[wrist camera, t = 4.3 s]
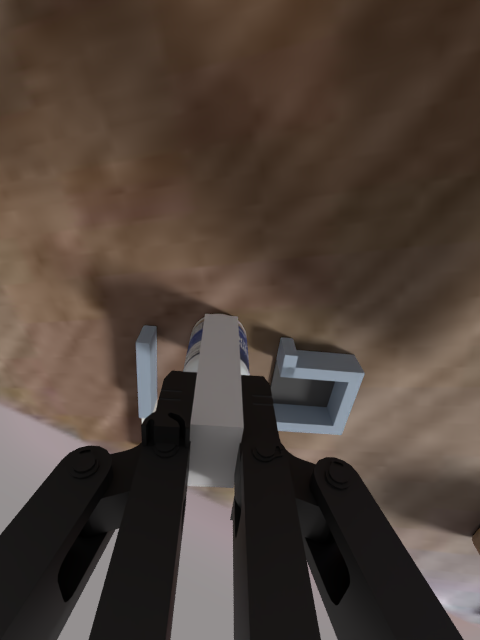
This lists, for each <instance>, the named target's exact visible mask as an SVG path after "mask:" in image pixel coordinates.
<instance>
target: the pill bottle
mask: <svg viewBox="0 0 480 640" xmlns="http://www.w3.org/2000/svg"><path fill="white" fill-rule="evenodd" d="M215 315H226V314H215ZM226 316H229V315H226ZM204 318H205V317H204ZM204 318H202V319H201V320H199V321H198V322H197V323H196V325H195V326H194V328H193V330H192V333H191V337H190V342H189V346H188V351H187V355H186V360H185V365H184V370H183V372H197V370H198V363H199V355H200V348H201V340H202V333H203V325H204ZM238 328H239V347H240V367H241V375H250V373H249V361H248V347H247V338H246V332H245V329H244V328H243V326H242V324H241V323H240V322H239V321H238Z"/></svg>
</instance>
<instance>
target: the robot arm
mask: <svg viewBox="0 0 480 640" xmlns="http://www.w3.org/2000/svg"><path fill="white" fill-rule="evenodd" d="M141 430H142V443H141V444H140V445H138V446H136V447H134V448H133V449H130V450H126V451H123V452H118V453H114V454H109V453H108V451H107V450H106V449H104V448H102V447H100V446H85V447H81V448H78V449H76V450H75V451H72V452H70V453H69V454H68V455H67V456H66V457H65V458H63V460H61V462H60V463H59V464H58V465H57V466H56V468H55V469H54V470H53V471H52V473H51V474H50V475H49V476H48V477H47V479H46V480H45V481H44V482H43V484H42V485H41V486H40V487H39V488H38V490H37V491H36V492H35V493H34V495H33V496H32V497H31V498H30V499H29V501H28V502H27V503H26V504H25V505H24V507H23V508H22V509H21V510H20V512H19V513H18V514H17V515H16V516H15V518H14V519H13V520H12V521H11V523H10V524H9V525H8V526H7V527H6V529H5V530H4V531H3V532H2V534H1V535H0V640H57V639H58V637H59V635H60V633H61V631H62V629H63V627H64V625H65V624H66V622H67V620H68V618H69V616H70V614H71V612H72V610H73V608H74V607H75V605H76V603H77V601H78V599H79V597H80V595H81V593H82V592H83V590H84V588H85V586H86V584H87V582H88V580H89V578H90V576H91V575H92V573H93V571H94V569H95V567H96V565H97V563H98V561H99V559H100V558H101V556H102V554H103V552H104V550H105V548H106V546H107V544H108V542H109V540H110V538H111V537H112V535H113V533H114V531H115V529H118V528H119V532H118V535H117V539H116V543H115V547H114V550H113V553H112V557H111V561H110V565H109V568H108V572H107V575H106V579H105V582H104V587H103V590H102V593H101V597H100V601H99V604H98V608H97V611H96V615H95V619H94V622H93V626H92V630H91V633H90V637H89V640H170V638H171V629H172V620H173V611H174V602H175V594H176V585H177V576H178V567H179V558H180V550H181V541H182V532H183V523H184V515H185V506H186V492H187V486H204V487H226V488H233V487H234V485H235V496H234V502H233V507H232V513H231V519H230V520H233V581H234V582H233V584H234V585H233V586H234V640H321V638H320V632H319V627H318V621H317V616H316V610H315V605H314V599H313V594H312V588H311V583H310V577H309V572H308V567H307V562H308V565H309V567H310V570H311V573H312V575H313V577H314V580H315V583H316V585H317V588H318V590H319V593H320V595H321V598H322V601H323V603H324V606H325V608H326V611H327V613H328V616H329V618H330V621H331V623H332V626H333V628H334V631H335V634H336V636H337V639H338V640H463V638H462V636H461V635H460V633H459V632H458V630H457V629H456V627H455V626H454V624H453V623H452V621H451V619H450V618H449V616H448V614H447V613H446V611H445V610H444V608H443V606H442V605H441V603H440V602H439V600H438V599H437V597H436V595H435V594H434V592H433V591H432V589H431V588H430V586H429V584H428V583H427V581H426V580H425V578H424V577H423V575H422V573H421V572H420V570H419V569H418V567H417V566H416V564H415V562H414V561H413V559H412V558H411V556H410V555H409V553H408V551H407V550H406V548H405V547H404V545H403V544H402V542H401V540H400V539H399V537H398V536H397V534H396V533H395V531H394V529H393V528H392V526H391V525H390V523H389V522H388V520H387V518H386V517H385V515H384V514H383V512H382V511H381V509H380V507H379V506H378V504H377V503H376V501H375V500H374V498H373V496H372V495H371V493H370V492H369V490H368V489H367V487H366V485H365V484H364V482H363V481H362V479H361V478H360V476H359V474H358V473H357V472H356V471H355V470H354V468H353V467H352V466H351V465H349V464H348V463H346V462H345V461H343V460H340V459H337V458H332V457H326V458H323V459H321V460H319V461H318V462H317V464H313V463H310V462H307V461H304V460H302V459H299V458H297V457H295V456H293V455H292V454H290V453H289V452H288V451H287V450H286V449H285V447H284V446H283V445H282V444H281V442H280V439H279V434H278V428H277V422H276V416H275V410H274V406H273V398H272V392H271V386H270V385H269V383H268V382H267V380H266V379H265V378H264V377H263V376H250V375H241V367H240V347H239V328H238V316H226V315H215V314H205V318H204V325H203V333H202V340H201V348H200V355H199V363H198V370H197V372H183V371H171V372H170V373H169V374H168V375H167V376H166V378H165V379H164V381H163V385H162V389H161V392H160V396H159V400H158V404H157V408H156V411H155V412H153V413H151V414H150V415H149V416H148V417H146V418H145V420H144V421H143V423H142V425H141ZM306 560H307V561H306Z"/></svg>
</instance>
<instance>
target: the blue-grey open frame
mask: <svg viewBox="0 0 480 640" xmlns="http://www.w3.org/2000/svg"><path fill="white" fill-rule="evenodd" d="M136 360H137V384H138V407H139V418H146V417H148V416H149V415H150V414H151V413H153V410H154V407H155V404H156V400H157V326H148V325H144V326H143V328H142V330H141V332H140V334H139V336H138V339H137V341H136ZM277 363H278V368H279V373H280V377H288V378H300V379H313V380H325V381H335V384H334V387H333V390H332V393H331V396H330V399H329V402H328V405H327V407H315V406H302V405H288V404H274V403H273V406H274V410H275V416H276V422H277V428H278V431H290V432H305V433H320V434H335V435H342V432H343V430H344V427H345V424H346V422H347V419H348V416H349V414H350V411H351V408H352V406H353V403H354V400H355V398H356V395H357V392H358V390H359V387H360V384H361V382H362V379H363V376H364V374H365V373H364V371H363V369H362V368H361V366H360V364H359V362H358V361H357V359H356V357H355V355H351V354H339V353H327V352H316V351H304V350H296V347H295V344H294V340H293V338H283V337H281V339H280V344H279V349H278V353H277Z"/></svg>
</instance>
